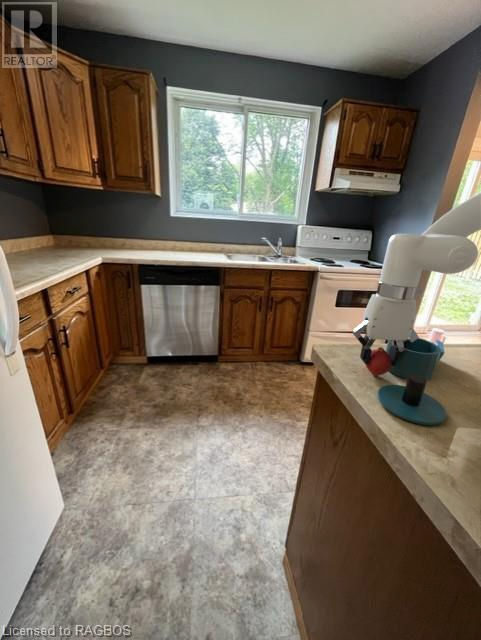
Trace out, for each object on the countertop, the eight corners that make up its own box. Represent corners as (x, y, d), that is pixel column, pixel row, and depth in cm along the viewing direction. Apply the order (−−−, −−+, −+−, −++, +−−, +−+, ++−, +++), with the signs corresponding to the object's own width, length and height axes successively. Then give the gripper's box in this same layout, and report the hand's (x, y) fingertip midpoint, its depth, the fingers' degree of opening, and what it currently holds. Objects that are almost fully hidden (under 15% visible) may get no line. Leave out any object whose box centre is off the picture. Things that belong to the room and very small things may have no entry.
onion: (367, 367, 72) (374, 339, 69) (390, 375, 68) (398, 347, 66) (358, 374, 68) (365, 345, 65) (382, 384, 64) (390, 354, 62)
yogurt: (425, 356, 81) (437, 339, 78) (430, 359, 80) (442, 342, 77) (424, 369, 71) (438, 350, 68) (430, 372, 70) (444, 353, 68)
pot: (415, 360, 77) (423, 336, 74) (442, 382, 66) (452, 355, 64) (375, 357, 77) (381, 333, 75) (395, 380, 66) (403, 352, 64)
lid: (421, 390, 63) (429, 365, 60) (460, 429, 51) (472, 399, 49) (367, 387, 63) (373, 362, 60) (393, 425, 51) (402, 395, 49)
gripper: (424, 289, 64) (404, 357, 70) (351, 285, 64) (338, 353, 71) (445, 298, 57) (421, 372, 63) (363, 293, 57) (347, 368, 64)
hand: (377, 361), depth 67 cm, fingers open, 5 cm apart
